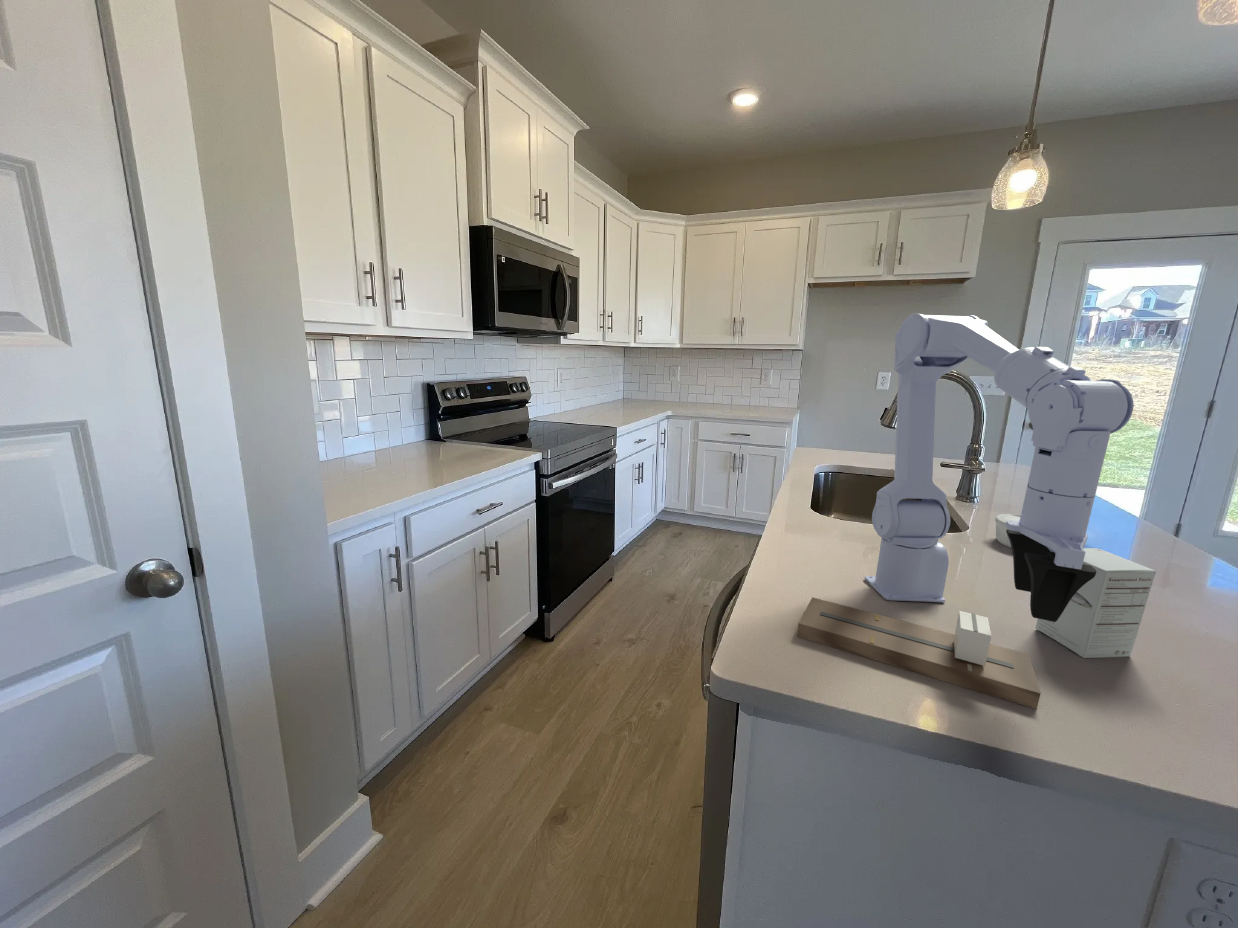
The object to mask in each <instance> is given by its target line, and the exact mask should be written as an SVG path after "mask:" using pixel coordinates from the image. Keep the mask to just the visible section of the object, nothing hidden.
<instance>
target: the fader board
mask: <svg viewBox="0 0 1238 928" xmlns="http://www.w3.org/2000/svg"><path fill="white" fill-rule="evenodd" d="M954 635H955V633H951V632H950V633H949V632H946V631H942V630H940V629H936V628H931V627H927V626H923V625H920V624H916V623H913V622H908V621H905V620H900V619H897V618H892V617H889V616H886V615H881V614H877V613H873V612H871V611H867V610H863V609H859V608H855V607H850V606H847V605H843V604H839V603H835V602H831V601H828V600H824V599H820V598H816V597H811V599H810V600H809V603H808V605H807V606H806V608H805V611H804V612H803V614H802V616H801V618H800V620H799V621H798V627H797V635H796V636H797V637H798V638H801V639H806V640H807V641H808V640H809V641H811V642H815V643H818V644H822V645H825V646H828V647H831V648H835V649H838V650H841V651H844V652H848V653H851V654H854V655H858V656H861V657H864V658H867V659H870V660H874V661H877V662H881V663H884V664H887V665H891V666H893V667H894V666H895V667H897V668H901V669H903V670H907V671H909V672H914V673H916V674H919V675H924V676H927V677H930V678H933V679H936V680H940V681H943V682H947V683H950V684H953V685H956V686H960V687H963V688H966V689H969V690H972V691H976V692H979V693H982V694H985V695H990V696H992V697H995V698H999V699H1002V700H1006V701H1007V702H1008V701H1009V702H1012V703H1016V704H1018V705H1022V706H1024V707H1029V708H1032V709H1036V710H1037V709H1038V706H1039V702H1040V698H1041V695H1042V693H1041V691H1040V686H1039V683H1038V681H1037V678H1036V673H1035V671H1034V667H1033V665H1032V660H1031V657H1030V654H1029V653H1026V652H1023V651H1018V650H1014V649H1012V648H1007V647H1003V646H1000V645H996V644H993V643H992V644H991V643H990V645H989V649H988V654H987V659H986V663H985V666H983V665H979V664H976V663H972V662H969V661H965V660H962V659H958V658H955V650H954Z"/></svg>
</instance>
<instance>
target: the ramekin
mask: <svg viewBox="0 0 1238 928" xmlns="http://www.w3.org/2000/svg"><path fill="white" fill-rule="evenodd" d="M1020 517H1021V514H1014V513H1001V514H997V515H996V516H995V518H994V521H995V537H996V540H997V541H998V542H999V543H1000V544H1002V545H1003V546H1005V547H1008V548H1010V549H1012V548H1011V544H1010V540H1009V538H1008V535H1007V532H1006V530H1007V529H1008V528H1007V527H1006V521H1007V520H1010V521H1019V520H1020Z"/></svg>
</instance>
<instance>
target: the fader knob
mask: <svg viewBox="0 0 1238 928" xmlns="http://www.w3.org/2000/svg"><path fill="white" fill-rule="evenodd" d="M957 615H958V616H957V621H956V626H955V632H954V650H955V658H958V659H962V660H965V661H969V662H972V663H976V664H979V665H983V666H985V663H986V659H987V654H988V649H989V645H990V644H991V639H992V632H991V626H990V622H989V618H988V617H986V616H982V615H979V614H976V613H974V612H966V611H963V610H959V611H958V614H957Z"/></svg>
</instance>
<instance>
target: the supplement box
mask: <svg viewBox="0 0 1238 928" xmlns="http://www.w3.org/2000/svg"><path fill="white" fill-rule="evenodd" d="M1083 550H1084V551H1085V557H1084V561H1083V564H1084V565H1090V566H1092V567H1093V568H1094V569H1095V570H1096V571H1097V572H1096V575H1095V577H1094V578H1093V579H1091V580H1090V581H1088V582H1087V583H1086V584H1084V585H1083V586H1082V587H1081V588H1080V589H1079V590H1078V591H1077V592H1076V593H1075V594H1074V596H1073V597H1072V598H1071V600H1070V601H1069V603H1068V605H1067V606H1066V608H1065V609H1064V611H1063V613H1062V614H1061V616H1060V617H1059V619H1058V620H1057V621H1056V622H1052V621H1048V620H1043V619H1038V618H1037V621H1036V624H1035V630H1036V631H1039V632H1041V633H1043V634H1045V635H1046V636H1048V637H1049V638H1051V639H1053V640H1054V641H1056V642H1058V643H1059V644H1061V645H1062V646H1064V647H1066V648H1067V649H1069V650H1071V651H1072V652H1074V653H1075V654H1077V656H1079V657H1081V658H1082V659H1087V658H1088V659H1094V658H1095V659H1096V658H1097V659H1098V658H1099V659H1100V658H1101V659H1103V658H1123V657H1125V658H1126V657H1127V658H1128V657H1131V655H1132V651H1133V649H1134V646H1135V643H1136V639H1137V637H1138V636H1137V635H1138V633H1139V630H1140V625H1141V622H1142V619H1143V615H1144V612H1145V609H1146V606H1147V602H1148V598H1149V596H1150V592H1151V588H1152V586H1153V582H1154V579H1155V576H1156V574H1157V570H1155V569H1152V568H1150V567H1148V566H1144V565H1142V564H1140V563H1137V562H1134V561H1132V560H1129V559H1127V558H1124V557H1123V556H1119V555H1116V554H1115V553H1112V552H1109V551H1106V550H1103V549H1101V548H1097V547H1096V548H1093V547H1090V548H1089V547H1087V548H1086V547H1084V548H1083Z"/></svg>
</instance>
